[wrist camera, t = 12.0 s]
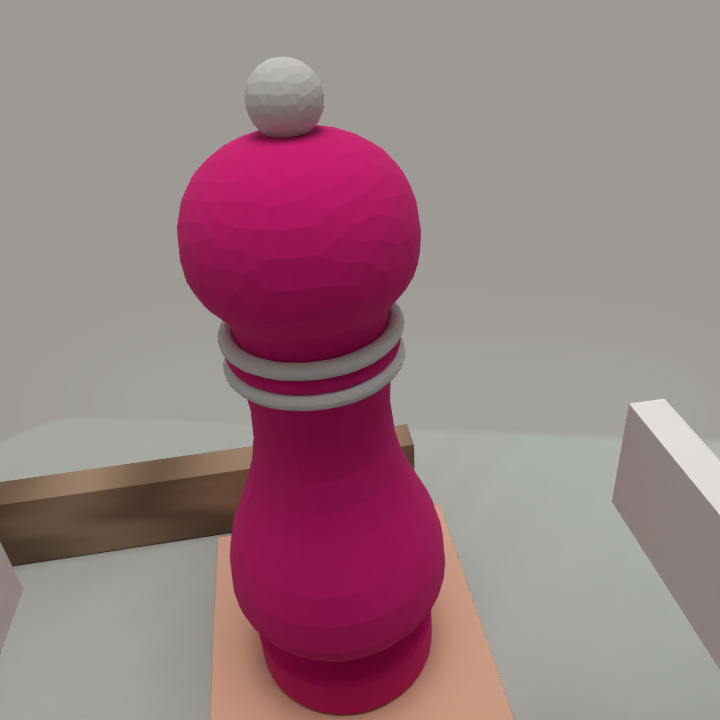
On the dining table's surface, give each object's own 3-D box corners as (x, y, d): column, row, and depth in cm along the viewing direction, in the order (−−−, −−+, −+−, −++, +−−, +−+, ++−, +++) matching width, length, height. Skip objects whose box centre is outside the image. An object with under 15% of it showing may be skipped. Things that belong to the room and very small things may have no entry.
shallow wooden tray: (409, 482, 33) (406, 424, 31) (523, 860, 19) (532, 797, 17) (-69, 553, 31) (-102, 496, 29) (-311, 1028, 17) (-401, 977, 16)
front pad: (439, 508, 31) (439, 503, 31) (533, 780, 21) (533, 775, 21) (219, 542, 30) (217, 537, 30) (206, 842, 20) (204, 838, 20)
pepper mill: (217, 623, 26) (65, 67, 16) (367, 533, 30) (325, 26, 19) (320, 777, 21) (197, 111, 11) (486, 648, 25) (519, 45, 14)
